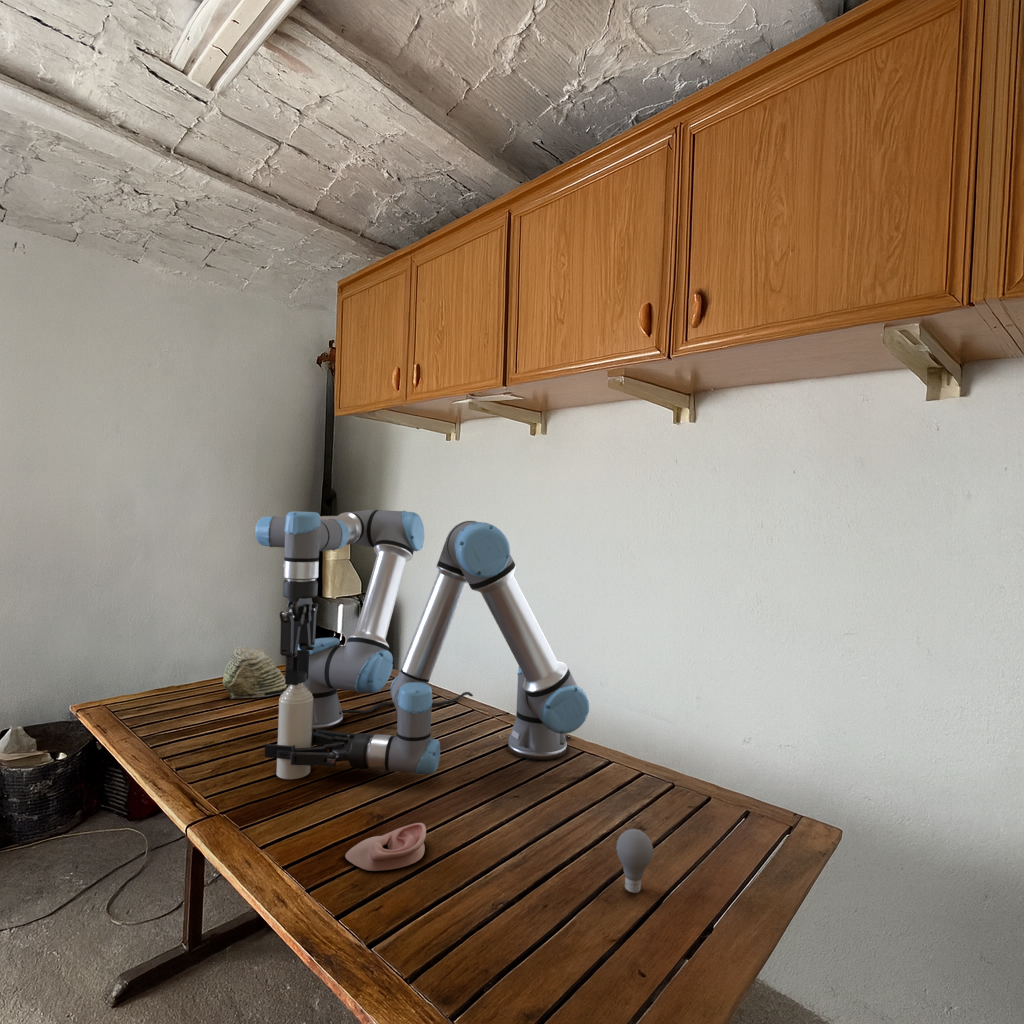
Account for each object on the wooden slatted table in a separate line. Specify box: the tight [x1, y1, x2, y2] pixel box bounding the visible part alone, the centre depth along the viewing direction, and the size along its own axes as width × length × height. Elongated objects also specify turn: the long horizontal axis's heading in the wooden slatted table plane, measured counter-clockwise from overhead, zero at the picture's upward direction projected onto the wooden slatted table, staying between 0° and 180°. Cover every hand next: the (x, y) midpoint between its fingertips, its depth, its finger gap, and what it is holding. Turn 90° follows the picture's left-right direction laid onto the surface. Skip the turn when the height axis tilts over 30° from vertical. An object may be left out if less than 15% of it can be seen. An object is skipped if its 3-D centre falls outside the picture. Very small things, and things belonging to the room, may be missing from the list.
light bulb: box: [615, 828, 654, 894], centre depth 106 cm, size 6×6×10 cm
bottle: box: [275, 683, 313, 780], centre depth 145 cm, size 7×7×22 cm
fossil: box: [222, 646, 288, 699], centre depth 198 cm, size 9×18×15 cm, turn 132°
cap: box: [298, 671, 307, 684], centre depth 145 cm, size 4×4×2 cm
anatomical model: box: [344, 822, 427, 872], centre depth 113 cm, size 13×4×12 cm
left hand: (296, 681), depth 145 cm, fingers closed on cap, 4 cm apart
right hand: (274, 743), depth 145 cm, fingers closed on bottle, 7 cm apart
